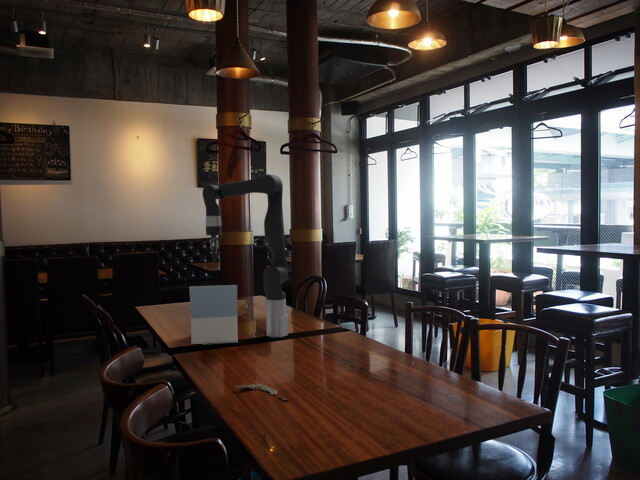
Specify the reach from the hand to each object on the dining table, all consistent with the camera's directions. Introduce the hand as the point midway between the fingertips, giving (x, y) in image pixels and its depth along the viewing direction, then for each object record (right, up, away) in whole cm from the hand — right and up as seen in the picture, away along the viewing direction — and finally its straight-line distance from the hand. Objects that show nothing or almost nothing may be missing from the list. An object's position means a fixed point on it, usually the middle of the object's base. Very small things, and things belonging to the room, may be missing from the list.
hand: (214, 260), depth 246 cm
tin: (+5, -33, +40) cm, 52 cm away
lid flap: (+6, -16, -30) cm, 35 cm away
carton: (+4, -35, -15) cm, 39 cm away
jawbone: (+33, -39, -88) cm, 102 cm away
